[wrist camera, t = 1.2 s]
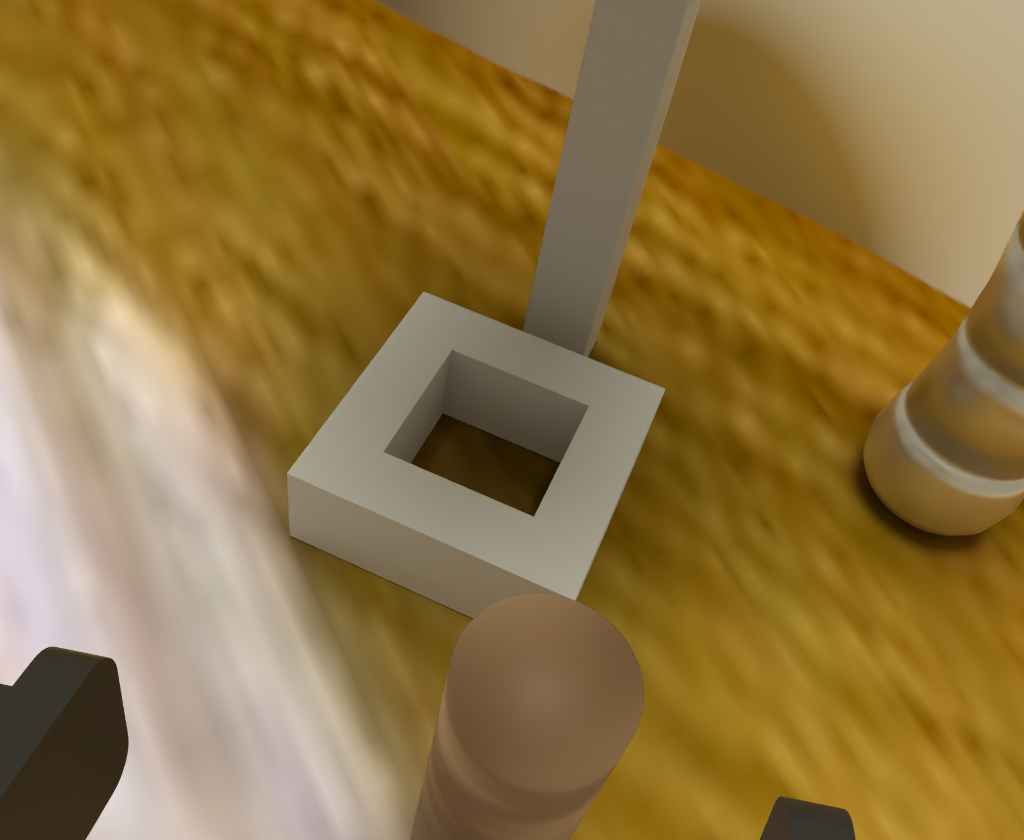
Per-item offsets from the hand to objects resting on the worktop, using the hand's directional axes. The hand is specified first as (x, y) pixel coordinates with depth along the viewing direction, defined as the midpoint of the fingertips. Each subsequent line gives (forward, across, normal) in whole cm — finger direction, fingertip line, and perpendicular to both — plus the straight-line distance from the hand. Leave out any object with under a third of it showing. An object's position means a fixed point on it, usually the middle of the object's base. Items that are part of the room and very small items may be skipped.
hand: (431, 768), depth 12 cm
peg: (+10, 0, +18) cm, 21 cm away
